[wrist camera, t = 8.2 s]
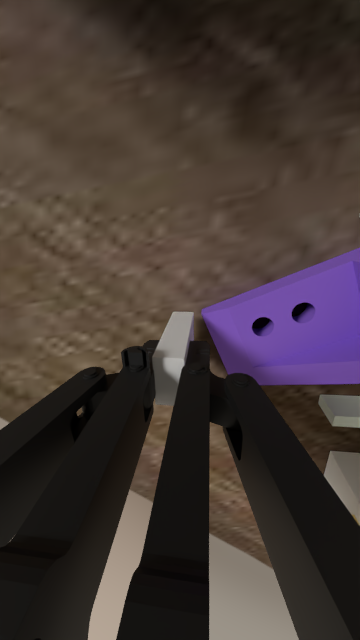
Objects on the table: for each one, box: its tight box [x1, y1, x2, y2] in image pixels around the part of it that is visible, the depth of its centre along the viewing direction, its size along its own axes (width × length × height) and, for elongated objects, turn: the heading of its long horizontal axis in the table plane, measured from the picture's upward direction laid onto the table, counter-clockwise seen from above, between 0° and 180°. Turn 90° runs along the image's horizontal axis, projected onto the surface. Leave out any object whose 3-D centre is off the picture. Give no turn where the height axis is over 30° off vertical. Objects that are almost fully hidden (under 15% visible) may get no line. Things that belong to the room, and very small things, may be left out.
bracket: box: [202, 248, 360, 385], centre depth 15 cm, size 12×7×7 cm, turn 115°
